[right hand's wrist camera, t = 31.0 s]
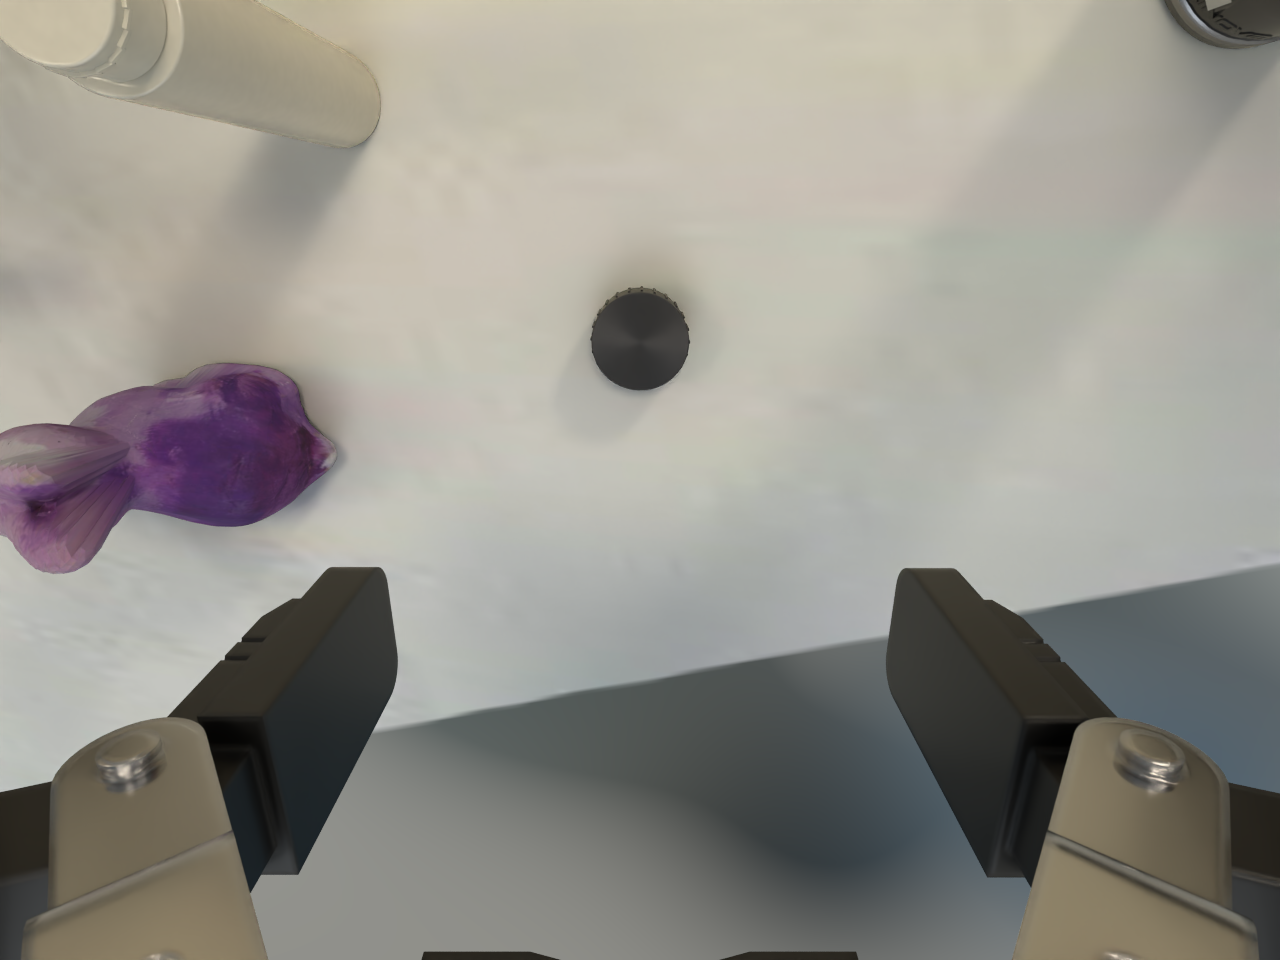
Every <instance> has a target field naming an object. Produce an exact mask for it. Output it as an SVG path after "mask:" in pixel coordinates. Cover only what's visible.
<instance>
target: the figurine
mask: <svg viewBox="0 0 1280 960" xmlns="http://www.w3.org/2000/svg"><path fill="white" fill-rule="evenodd" d="M336 458H337V453H336V449H335V447H334V445H333V443H332V442H331V441H330V440H329V439H327V438H326V437H324V436H323V435H322V434H321V433H320V432H319V431H317V430H316V429H315V428H314V427H313V426H312V425H311V424H310V423H309V421H308V419H307V417H306V416H305V413H304V409H303V408H302V406H301V401H300V396H299V391H298V388H297V386H296V385H295V383H294V382H293V381H292V380H291V379H290V378H289V377H287V376H286V375H284V374H283V373H281V372H279V371H277V370H275V369H272V368H267V367H263V366H258V365H245V364H233V363H219V364H209V365H205V366H202V367H199V368H196V369H195V370H193V371H192V372H190V373H189V374H188V375H187V376H186V377H184V378H182V379H174V380H165V381H163V382H160V383H158V384H155V385H154V386H142V387H136V388H132V389H128V390H124V391H121V392H118V393H115V394H112V395H109V396H106V397H104V398H101V399H99V400H97V401H96V402H94V403H93V404H92V405H90V406H89V407H87V408H86V409H85V410H84V411H83V412H81V413H80V414H79V415H78V416H77V417H76V418H75V419H74V420H73V421H72V422H71V423H70V425H60V424H48V423H46V424H32V425H25V426H19V427H15V428H12V429H9V430H7V431H5V432H3V433H1V434H0V535H1V536H4V537H7V538H8V539H9V540H10V541H11V542H13V544H14V547H15V549H16V550H17V551H18V552H19V553H20V554H21V556H22V557H23V558H24V559H25V560H27V562H28V563H29V564H30V565H32V566H33V567H34V568H35V569H38V570H40V571H42V572H49V573H52V574H59V573H63V574H64V573H69V572H73V571H76V570H78V569H79V568H81V567H83V566H85V565H86V564H88V563H89V562H90V561H91V560H92V558H93V557H94V556H95V555H96V553H97V552H98V551H99V550H100V549H101V547H102V545H103V544H104V542H105V540H106V538H107V536H108V534H109V532H110V531H111V529H112V528H113V527H114V526H115V525H116V524H117V523H118V522H119V520H120V519H121V518H122V517H123V516H124V514H125V513H126V512H127V511H129V510H131V509H136V510H145V511H151V512H155V513H160V514H164V515H168V516H172V517H176V518H179V519H183V520H186V521H190V522H195V523H200V524H205V525H211V526H225V527H236V526H244V525H249V524H252V523H255V522H258V521H260V520H262V519H264V518H266V517H268V516H270V515H272V514H274V513H276V512H278V511H279V510H281V509H282V508H284V507H285V506H287V505H288V504H290V503H291V502H292V501H293V500H294V499H296V498H297V497H298V496H299V495H300V494H301V493H302V492H303V491H304V490H305V489H306V488H307V487H308V486H309V485H310V484H312V483H313V482H314V481H315V480H317V479H318V478H319V477H321V476H322V475H323V474H324V473H325V472H327V471H328V470H329V469H330V468H331V467H332V466H333V464H334V463H335V461H336Z"/></svg>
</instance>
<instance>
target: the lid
mask: <svg viewBox="0 0 1280 960" xmlns="http://www.w3.org/2000/svg"><path fill="white" fill-rule="evenodd" d="M597 315H598V317H597V319H596V321H594V323H593V326H592V328H593V332H592V336H591V340H592V353H593V355H594V358H595V361H596V363H597V365H598V366H599V368H600V370H601V371H602V372H603V373H604V375H605V376H606V377H608V378H609V379H610V380H611V381H613V382H614V383H616V384H617V385H619V386H622V387H624V388H627V389H632V390H649V389H653V388H656V387H659V386H661V385H663V384H665V383H667V382H668V381H669V380H671V379H672V378H673V377H674V376H675V375H676V374H677V373H678V372H679V370H680V369H681V368H682V366H683V364H684V362H685V359H686V357H687V355H688V348H689V344H690V340H689V335H688V331H689V328H688V326H687V324H686V323H685V321H684V318H685V317H684V314H683V312H680V310H679V309H678V306H677V304H676V302H673V301H672V300H671V299H669V298H668V297H667V294H662V293H660V292H658V291H656V290H655V289H654V288H653V290H652V289H647V288H643V286H641V288H634V289H630V288H628V290H625V291H623V292H621V293H619V292H617V293H616V295H615V296H614V297H612V298H611V299H610V300H607V301H606V303H605V305H604V306H603V308H602V309H600V310H599V312H598V314H597Z"/></svg>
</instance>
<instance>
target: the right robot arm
mask: <svg viewBox="0 0 1280 960" xmlns="http://www.w3.org/2000/svg"><path fill="white" fill-rule="evenodd" d="M1165 2H1166V5H1167V7H1168V9H1169V10H1170V12H1171V14H1172V16H1173V17H1174V18H1175V20H1176V21H1177V22H1178V24H1179V25H1180V26H1181V27H1182V28H1183V29H1184V30H1185V31H1187V32H1188V33H1189V34H1190V35H1192V36H1193V37H1195V38H1197V39H1198V40H1200V41H1202V42H1204V43H1207V44H1209V45H1213V46H1216V47H1222V48H1231V49H1240V48H1250V47H1255V46H1259V45H1263V44H1267V43H1270V42H1274V41H1278V40H1280V0H1165ZM397 667H398V656H397V647H396V640H395V633H394V626H393V619H392V611H391V604H390V597H389V590H388V583H387V579H386V575H385V573H384V571H383V570H382V569H381V568H379V567H330V568H328V569H327V570H326V571H325V572H324V573H323V574H322V575H321V576H320V578H319V579H318V580H317V581H316V582H315V583H314V584H313V586H312V587H311V588H310V589H309V590H308V591H307V592H306V593H305V595H304V596H303V597H302V598H301V599H291V600H289V601H288V602H286V603H284V604H283V605H281V606H279V607H277V608H276V609H274V610H272V611H271V612H269V613H267V614H266V615H264V616H262V617H261V618H260V619H259V620H258V621H257V622H256V623H255V624H254V626H253V627H252V628H251V629H250V630H249V631H248V632H247V633H246V634H245V635H244V636H243V637H242V641H241V642H238V643H237V644H236V645H235V646H234V647H233V648H232V649H231V650H230V651H229V652H228V653H227V654H226V655H225V660H221V661H220V662H219V663H218V664H217V665H216V666H215V667H214V668H213V669H212V670H211V671H210V672H209V673H208V674H207V675H206V676H205V678H204V679H203V680H202V681H201V682H200V683H199V684H198V685H197V686H196V687H195V688H194V689H193V690H192V691H191V692H190V693H189V694H188V696H187V697H186V698H185V699H184V700H183V701H182V702H181V703H180V704H179V705H178V706H177V707H176V708H175V709H174V710H173V711H172V713H171V714H170V715H169V716H168V717H166V718H157V719H150V720H146V721H141V722H138V723H134V724H131V725H128V726H125V727H122V728H120V729H117V730H114V731H112V732H110V733H108V734H106V735H104V736H102V737H100V738H98V739H96V740H94V741H93V742H91V743H89V744H88V745H86V746H85V747H83V748H82V749H80V750H79V751H78V752H77V753H75V754H74V755H73V756H72V757H70V758H69V759H68V760H67V761H66V762H65V763H64V764H63V765H62V766H61V768H60V769H59V770H58V772H57V773H56V775H55V777H54V779H53V781H52V782H47V783H42V784H38V785H33V786H28V787H23V788H19V789H14V790H9V791H5V792H0V960H268V957H267V953H266V949H265V946H264V942H263V938H262V935H261V931H260V928H259V924H258V920H257V917H256V913H255V909H254V906H253V902H252V898H251V895H250V893H251V891H252V889H253V888H254V886H255V884H256V882H257V881H258V879H259V877H260V875H298V874H299V872H300V870H301V868H302V866H303V865H304V863H305V861H306V859H307V857H308V855H309V853H310V851H311V849H312V847H313V845H314V843H315V841H316V839H317V838H318V836H319V834H320V832H321V830H322V828H323V826H324V824H325V822H326V820H327V818H328V816H329V814H330V812H331V811H332V808H333V807H334V805H335V803H336V801H337V799H338V797H339V795H340V793H341V791H342V789H343V787H344V785H345V783H346V782H347V780H348V778H349V776H350V774H351V772H352V770H353V768H354V766H355V764H356V762H357V760H358V758H359V757H360V755H361V753H362V751H363V749H364V747H365V745H366V743H367V741H368V739H369V737H370V735H371V733H372V731H373V730H374V728H375V726H376V724H377V722H378V720H379V718H380V716H381V714H382V712H383V710H384V708H385V706H386V704H387V703H388V701H389V699H390V697H391V695H392V692H393V689H394V686H395V682H396V676H397ZM886 672H887V679H888V684H889V688H890V691H891V694H892V696H893V699H894V700H895V702H896V704H897V706H898V708H899V710H900V712H901V714H902V716H903V718H904V719H905V721H906V723H907V725H908V727H909V729H910V731H911V733H912V735H913V737H914V738H915V740H916V742H917V744H918V746H919V748H920V750H921V752H922V754H923V756H924V758H925V759H926V761H927V763H928V765H929V767H930V769H931V771H932V773H933V775H934V777H935V779H936V780H937V782H938V784H939V786H940V788H941V790H942V792H943V794H944V796H945V798H946V799H947V801H948V803H949V805H950V807H951V809H952V811H953V813H954V815H955V817H956V819H957V820H958V822H959V824H960V826H961V828H962V830H963V832H964V834H965V836H966V837H967V839H968V841H969V843H970V845H971V847H972V849H973V851H974V853H975V855H976V856H977V859H978V860H979V862H980V864H981V866H982V868H983V870H984V872H985V874H986V876H987V877H1025V878H1026V880H1027V882H1028V883H1029V885H1030V887H1031V891H1030V895H1029V898H1028V902H1027V906H1026V909H1025V913H1024V917H1023V920H1022V924H1021V928H1020V931H1019V935H1018V938H1017V942H1016V946H1015V949H1014V953H1013V957H1012V960H1280V794H1279V793H1275V792H1270V791H1265V790H1261V789H1256V788H1251V787H1247V786H1242V785H1237V784H1233V783H1229V782H1228V781H1227V779H1226V777H1225V775H1224V773H1223V772H1222V770H1221V769H1220V768H1219V766H1218V765H1217V764H1216V763H1215V762H1214V761H1213V760H1212V759H1211V758H1210V757H1208V756H1207V755H1206V754H1205V753H1203V752H1202V751H1201V750H1200V749H1198V748H1197V747H1195V746H1194V745H1192V744H1191V743H1189V742H1187V741H1186V740H1184V739H1182V738H1180V737H1178V736H1176V735H1174V734H1172V733H1170V732H1168V731H1166V730H1163V729H1160V728H1158V727H1155V726H1152V725H1149V724H1146V723H1142V722H1139V721H1134V720H1129V719H1123V718H1117V716H1116V715H1115V714H1114V713H1113V712H1112V711H1111V710H1110V709H1109V708H1108V707H1107V706H1106V705H1105V704H1104V703H1103V702H1102V701H1101V700H1100V699H1099V698H1098V697H1097V695H1096V694H1095V693H1094V692H1093V691H1092V690H1091V689H1090V688H1089V687H1088V686H1087V685H1086V684H1085V683H1084V682H1083V681H1082V680H1081V679H1080V678H1079V677H1078V675H1077V674H1076V673H1075V672H1074V671H1073V670H1072V669H1071V668H1070V667H1069V666H1068V665H1067V664H1066V663H1065V662H1061V661H1060V657H1059V655H1058V654H1057V653H1056V652H1055V651H1054V650H1053V649H1052V648H1051V647H1050V646H1049V645H1048V644H1044V643H1043V639H1042V638H1041V637H1040V636H1039V634H1038V633H1037V632H1036V631H1035V630H1034V629H1033V628H1032V627H1031V626H1030V625H1029V624H1028V623H1027V622H1026V621H1025V620H1024V619H1023V618H1022V617H1020V616H1018V615H1017V614H1015V613H1013V612H1012V611H1010V610H1008V609H1007V608H1005V607H1003V606H1001V605H1000V604H998V603H996V602H995V601H993V600H983V598H982V597H981V596H980V595H979V594H978V593H977V592H976V591H975V590H974V588H973V587H972V586H971V585H970V584H969V583H968V582H967V581H966V579H965V578H964V577H963V576H962V575H961V574H960V573H959V572H958V571H957V570H956V569H953V568H905V569H903V570H902V571H901V572H900V574H899V576H898V579H897V584H896V590H895V597H894V604H893V611H892V618H891V625H890V632H889V639H888V646H887V654H886ZM422 960H559V959H555V958H551V957H548V956H544V955H540V954H537V953H533V952H424V953H423V957H422ZM721 960H858V957H857V953H856V952H747V953H743V954H740V955H736V956H733V957H729V958H725V959H721Z"/></svg>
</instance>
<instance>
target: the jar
mask: <svg viewBox="0 0 1280 960" xmlns="http://www.w3.org/2000/svg"><path fill="white" fill-rule="evenodd" d="M0 38H1V40H3V41H4V42H5V43H6V44H7V45H8V46H9V47H10V48H12V49H13V50H14V51H16V52H17V53H18V54H20V55H21V56H23V57H25V58H27V59H28V60H30V61H32V62H35V63H37V64H40V65H41V66H43V67H45V69H47V70H49V71H52V72H55V73H58V74H61V75H63V76H66V77H68V78H70V79H71V80H72V81H74V82H75V83H77V84H78V85H80V86H81V87H83V88H85V89H87V90H88V91H91V92H93V93H95V94H98V95H101V96H104V97H108V98H112V99H117V100H121V101H126V102H130V103H135V104H139V105H144V106H148V107H153V108H157V109H162V110H166V111H171V112H175V113H180V114H184V115H189V116H193V117H198V118H202V119H207V120H212V121H216V122H221V123H225V124H230V125H234V126H239V127H243V128H248V129H252V130H257V131H261V132H266V133H270V134H275V135H279V136H284V137H288V138H293V139H297V140H302V141H306V142H311V143H315V144H320V145H324V146H329V147H334V148H350V147H353V146H356V145H358V144H360V143H362V142H363V141H365V140H366V139H367V138H368V137H369V136H370V135H371V134H372V132H373V131H374V129H375V127H376V125H377V123H378V119H379V116H380V95H379V91H378V87H377V84H376V82H375V80H374V78H373V76H372V74H371V73H370V71H369V70H368V68H367V67H366V66H365V65H364V64H363V63H362V62H361V61H360V60H359V59H358V58H357V57H355V56H354V55H352V54H351V53H349V52H347V51H345V50H344V49H342V48H340V47H338V46H336V45H335V44H333V43H331V42H329V41H327V40H326V39H324V38H322V37H320V36H318V35H317V34H315V33H313V32H311V31H310V30H308V29H306V28H304V27H302V26H301V25H299V24H297V23H295V22H293V21H292V20H290V19H288V18H286V17H285V16H283V15H281V14H279V13H277V12H276V11H274V10H272V9H270V8H268V7H267V6H265V5H263V4H261V3H260V2H258V1H256V0H0Z"/></svg>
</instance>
